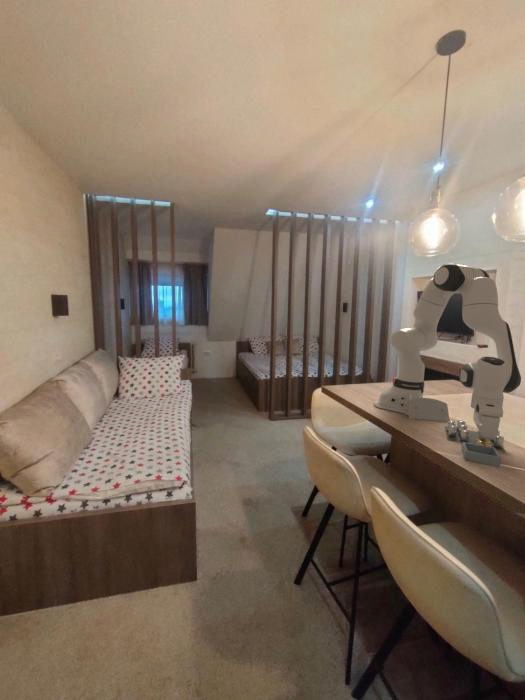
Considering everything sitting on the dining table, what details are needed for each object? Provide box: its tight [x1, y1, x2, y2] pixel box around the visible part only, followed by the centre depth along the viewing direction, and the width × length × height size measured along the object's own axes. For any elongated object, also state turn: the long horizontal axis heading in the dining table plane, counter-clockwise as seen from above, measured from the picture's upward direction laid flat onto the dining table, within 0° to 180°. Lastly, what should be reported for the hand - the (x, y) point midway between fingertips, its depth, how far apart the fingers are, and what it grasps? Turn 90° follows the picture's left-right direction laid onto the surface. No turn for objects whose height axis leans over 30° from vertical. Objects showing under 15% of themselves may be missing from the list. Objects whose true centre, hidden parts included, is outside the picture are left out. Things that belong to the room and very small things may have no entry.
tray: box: [461, 442, 501, 468], centre depth 101 cm, size 9×8×3 cm
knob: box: [475, 439, 492, 447], centre depth 106 cm, size 4×4×3 cm
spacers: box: [446, 419, 505, 449], centre depth 116 cm, size 16×14×4 cm
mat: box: [444, 425, 506, 452], centre depth 117 cm, size 17×16×1 cm
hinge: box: [406, 397, 451, 423], centre depth 138 cm, size 17×5×10 cm, turn 74°
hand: (481, 442), depth 110 cm, fingers closed
